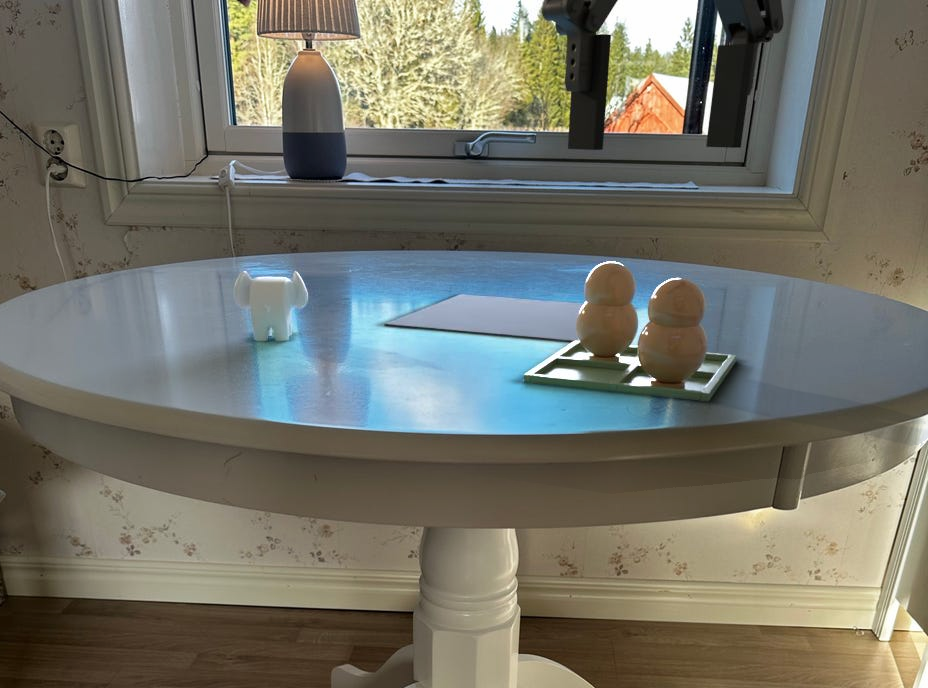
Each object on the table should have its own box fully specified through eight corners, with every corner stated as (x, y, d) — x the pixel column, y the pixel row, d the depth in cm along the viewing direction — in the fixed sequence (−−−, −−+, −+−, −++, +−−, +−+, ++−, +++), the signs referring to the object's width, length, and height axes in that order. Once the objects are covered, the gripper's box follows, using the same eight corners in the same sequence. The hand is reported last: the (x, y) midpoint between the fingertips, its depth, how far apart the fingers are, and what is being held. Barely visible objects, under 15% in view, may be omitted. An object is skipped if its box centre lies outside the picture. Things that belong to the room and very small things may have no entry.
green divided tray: (735, 365, 81) (736, 354, 81) (707, 406, 69) (709, 393, 69) (573, 350, 86) (574, 340, 85) (522, 386, 74) (523, 374, 74)
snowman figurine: (640, 355, 83) (650, 260, 79) (626, 367, 78) (636, 267, 75) (582, 349, 84) (589, 256, 81) (565, 361, 80) (572, 263, 76)
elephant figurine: (314, 331, 93) (310, 266, 90) (306, 349, 86) (301, 278, 83) (244, 331, 92) (238, 266, 90) (230, 348, 85) (223, 278, 83)
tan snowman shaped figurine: (707, 380, 75) (721, 275, 71) (695, 395, 71) (710, 285, 67) (641, 373, 77) (652, 271, 73) (626, 388, 72) (637, 280, 69)
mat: (631, 311, 103) (631, 306, 103) (580, 346, 87) (581, 341, 87) (460, 298, 110) (460, 294, 110) (384, 329, 94) (384, 323, 94)
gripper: (781, -198, 66) (735, 145, 77) (493, -271, 54) (484, 148, 64) (876, -226, 61) (814, 147, 71) (580, -315, 49) (555, 151, 59)
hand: (657, 149), depth 68 cm, fingers open, 13 cm apart
